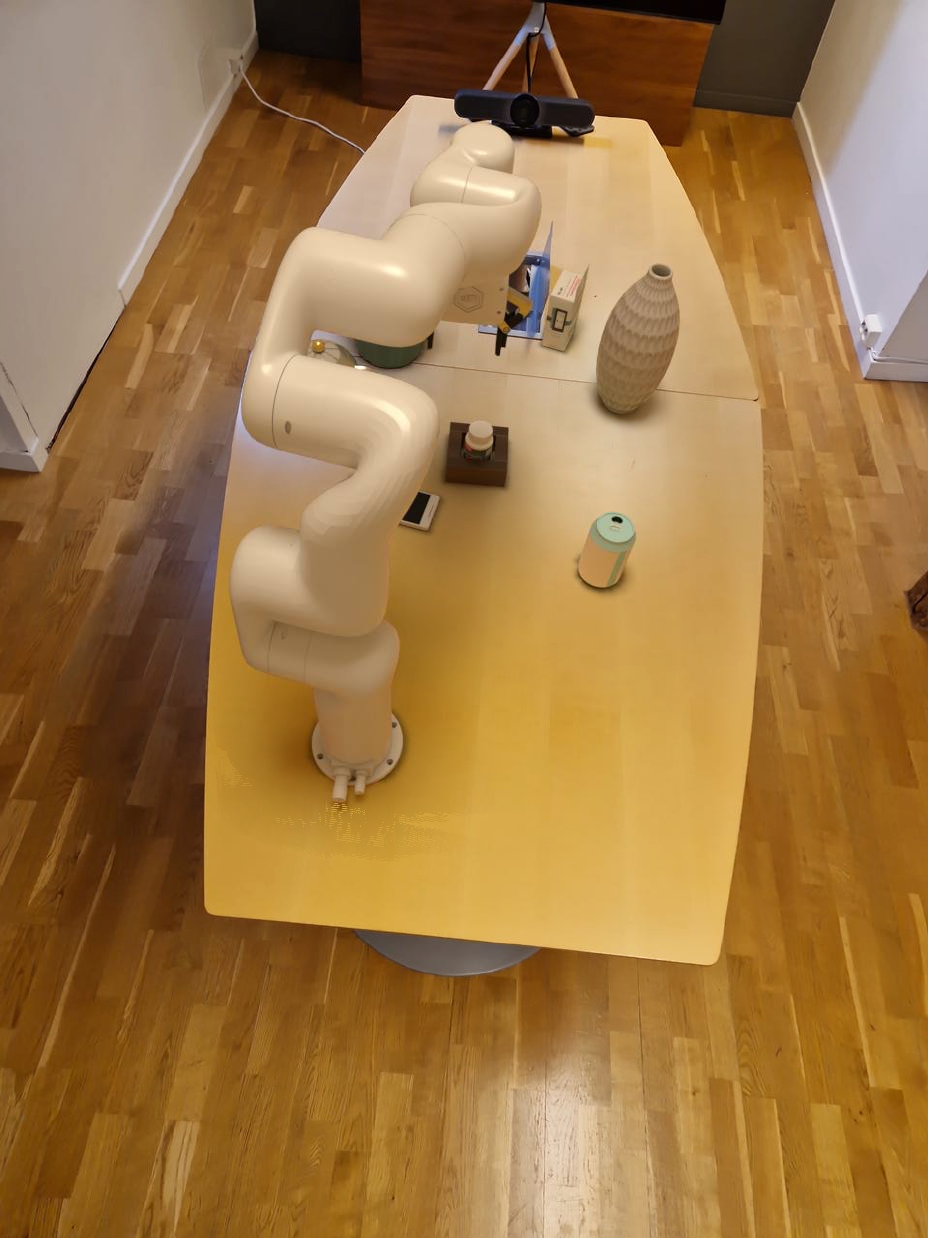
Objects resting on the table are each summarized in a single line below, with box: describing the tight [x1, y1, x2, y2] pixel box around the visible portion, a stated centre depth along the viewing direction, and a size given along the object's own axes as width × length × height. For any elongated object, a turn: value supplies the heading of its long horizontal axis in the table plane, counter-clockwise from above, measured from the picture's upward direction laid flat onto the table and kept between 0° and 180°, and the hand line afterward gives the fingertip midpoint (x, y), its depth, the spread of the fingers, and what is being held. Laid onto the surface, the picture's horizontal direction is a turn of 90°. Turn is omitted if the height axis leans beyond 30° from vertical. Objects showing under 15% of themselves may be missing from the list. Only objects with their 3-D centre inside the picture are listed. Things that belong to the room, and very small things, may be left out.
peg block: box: [444, 421, 510, 488], centre depth 141 cm, size 10×10×4 cm
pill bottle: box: [462, 419, 493, 460], centre depth 139 cm, size 5×5×8 cm
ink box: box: [541, 262, 590, 352], centre depth 155 cm, size 8×5×15 cm, turn 160°
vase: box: [595, 262, 681, 415], centre depth 140 cm, size 13×13×28 cm
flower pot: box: [355, 339, 423, 369], centre depth 149 cm, size 16×16×16 cm
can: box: [577, 511, 637, 588], centre depth 127 cm, size 7×7×12 cm
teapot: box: [307, 338, 380, 374], centre depth 139 cm, size 18×14×16 cm
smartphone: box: [351, 473, 441, 532], centre depth 136 cm, size 7×15×1 cm, turn 74°
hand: (464, 346), depth 116 cm, fingers open, 9 cm apart
